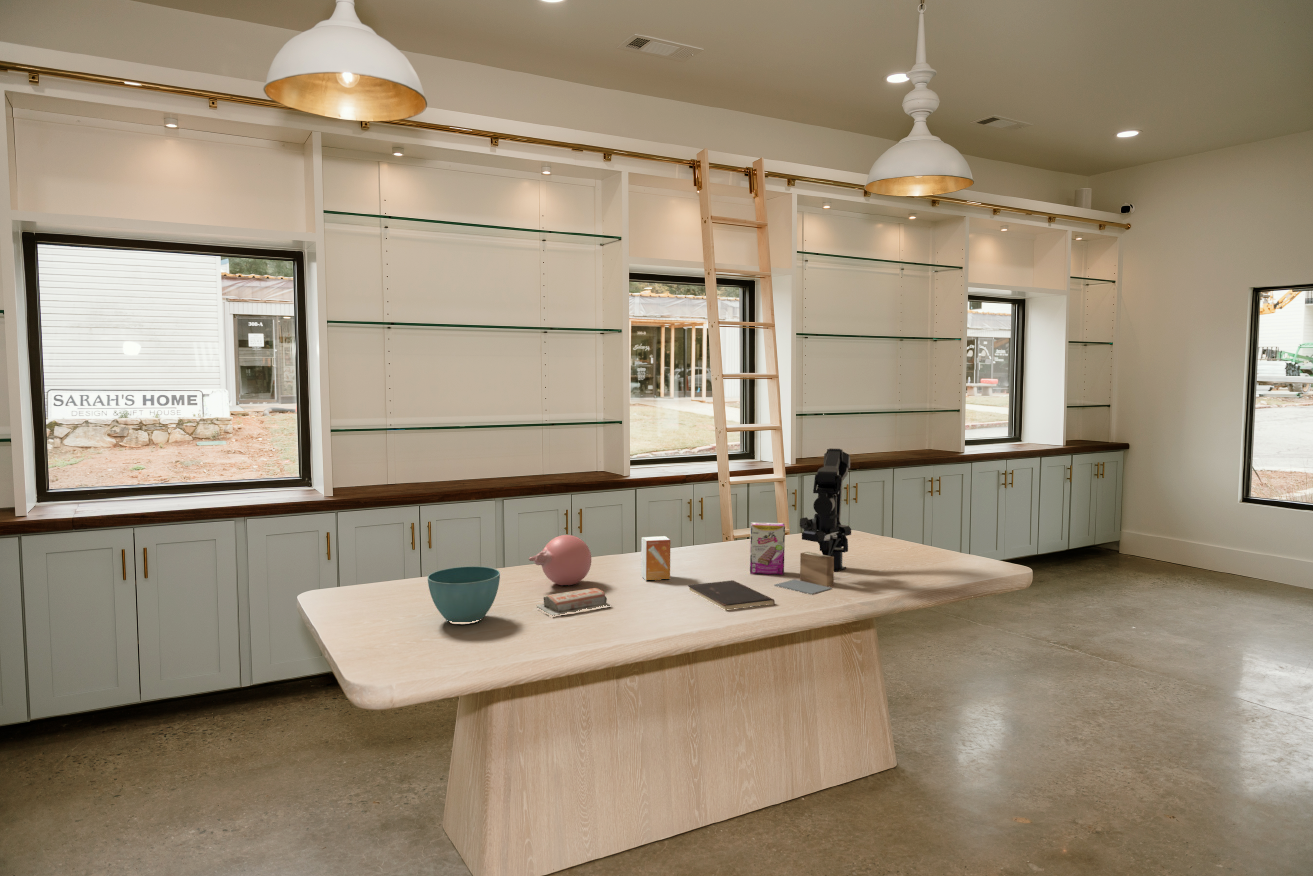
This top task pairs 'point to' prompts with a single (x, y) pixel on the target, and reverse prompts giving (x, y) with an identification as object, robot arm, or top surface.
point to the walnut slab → (817, 569)
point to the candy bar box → (767, 548)
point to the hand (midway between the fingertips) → (826, 560)
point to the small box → (655, 558)
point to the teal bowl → (464, 592)
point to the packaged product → (573, 601)
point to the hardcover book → (730, 594)
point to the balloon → (564, 560)
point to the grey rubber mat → (803, 586)
